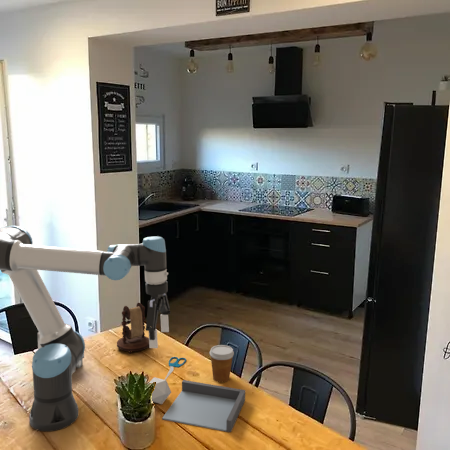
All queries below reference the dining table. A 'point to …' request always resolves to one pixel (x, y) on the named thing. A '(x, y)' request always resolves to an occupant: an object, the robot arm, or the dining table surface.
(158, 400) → the die
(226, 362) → the disposable coffee cup
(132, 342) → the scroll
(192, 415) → the tray
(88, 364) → the dining table surface
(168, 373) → the scissors
